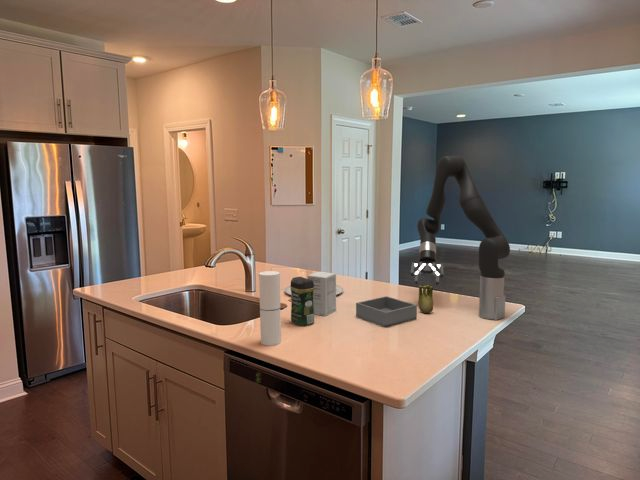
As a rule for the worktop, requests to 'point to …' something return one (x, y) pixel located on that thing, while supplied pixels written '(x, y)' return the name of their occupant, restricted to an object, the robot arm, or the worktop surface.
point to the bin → (386, 311)
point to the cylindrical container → (270, 307)
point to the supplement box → (324, 292)
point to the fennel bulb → (425, 299)
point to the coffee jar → (302, 301)
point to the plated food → (338, 290)
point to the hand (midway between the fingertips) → (426, 283)
